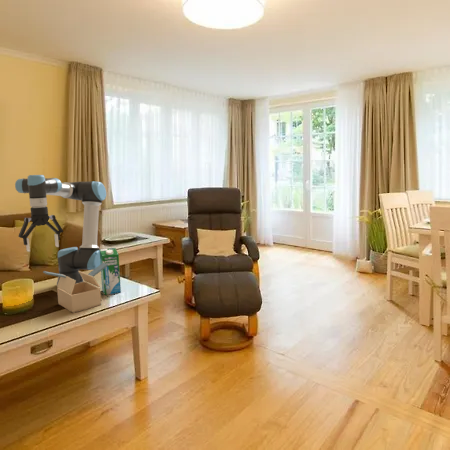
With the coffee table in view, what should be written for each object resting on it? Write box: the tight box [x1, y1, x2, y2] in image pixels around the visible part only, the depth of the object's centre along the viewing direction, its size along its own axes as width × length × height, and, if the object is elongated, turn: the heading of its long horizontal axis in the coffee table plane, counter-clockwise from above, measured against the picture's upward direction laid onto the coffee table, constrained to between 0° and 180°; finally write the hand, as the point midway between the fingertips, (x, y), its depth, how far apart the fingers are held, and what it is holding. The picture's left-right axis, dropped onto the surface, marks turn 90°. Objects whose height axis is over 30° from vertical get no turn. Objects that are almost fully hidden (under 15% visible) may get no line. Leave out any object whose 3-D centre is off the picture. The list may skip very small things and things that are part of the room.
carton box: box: [56, 281, 102, 314], centre depth 191 cm, size 18×15×9 cm
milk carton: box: [99, 247, 122, 296], centre depth 210 cm, size 9×9×25 cm
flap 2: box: [78, 263, 108, 288], centre depth 197 cm, size 17×7×10 cm
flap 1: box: [42, 270, 76, 294], centre depth 182 cm, size 17×7×10 cm
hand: (43, 249), depth 181 cm, fingers open, 13 cm apart
